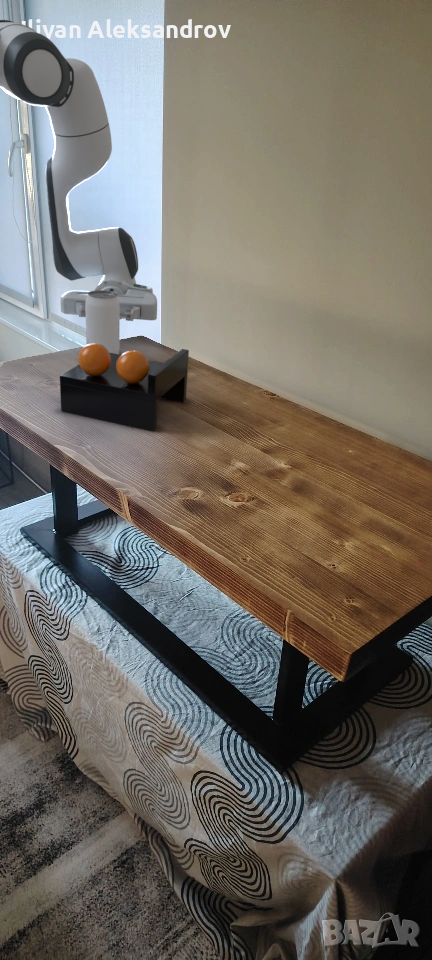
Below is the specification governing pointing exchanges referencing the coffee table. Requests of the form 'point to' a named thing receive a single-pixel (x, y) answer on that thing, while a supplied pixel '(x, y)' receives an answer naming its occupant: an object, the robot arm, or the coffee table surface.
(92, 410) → the rack
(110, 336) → the can
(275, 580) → the coffee table surface
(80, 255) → the robot arm
